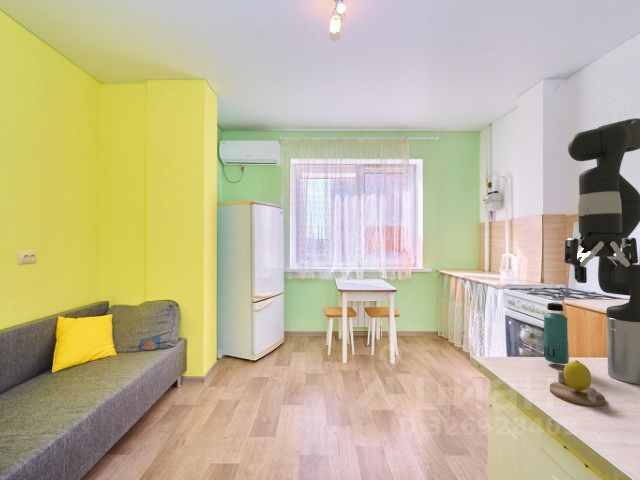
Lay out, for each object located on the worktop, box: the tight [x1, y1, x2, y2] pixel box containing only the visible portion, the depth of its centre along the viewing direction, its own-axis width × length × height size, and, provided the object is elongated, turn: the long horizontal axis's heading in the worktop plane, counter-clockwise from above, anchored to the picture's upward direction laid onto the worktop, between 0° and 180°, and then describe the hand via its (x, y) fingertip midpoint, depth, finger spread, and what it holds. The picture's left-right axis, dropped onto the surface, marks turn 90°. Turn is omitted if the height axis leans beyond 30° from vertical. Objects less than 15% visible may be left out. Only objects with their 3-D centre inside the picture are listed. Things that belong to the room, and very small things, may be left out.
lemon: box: [563, 360, 592, 392], centre depth 80 cm, size 6×6×8 cm
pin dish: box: [549, 370, 606, 407], centre depth 80 cm, size 11×11×4 cm
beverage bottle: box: [543, 302, 570, 365], centre depth 100 cm, size 6×7×20 cm
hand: (601, 282), depth 72 cm, fingers open, 8 cm apart
